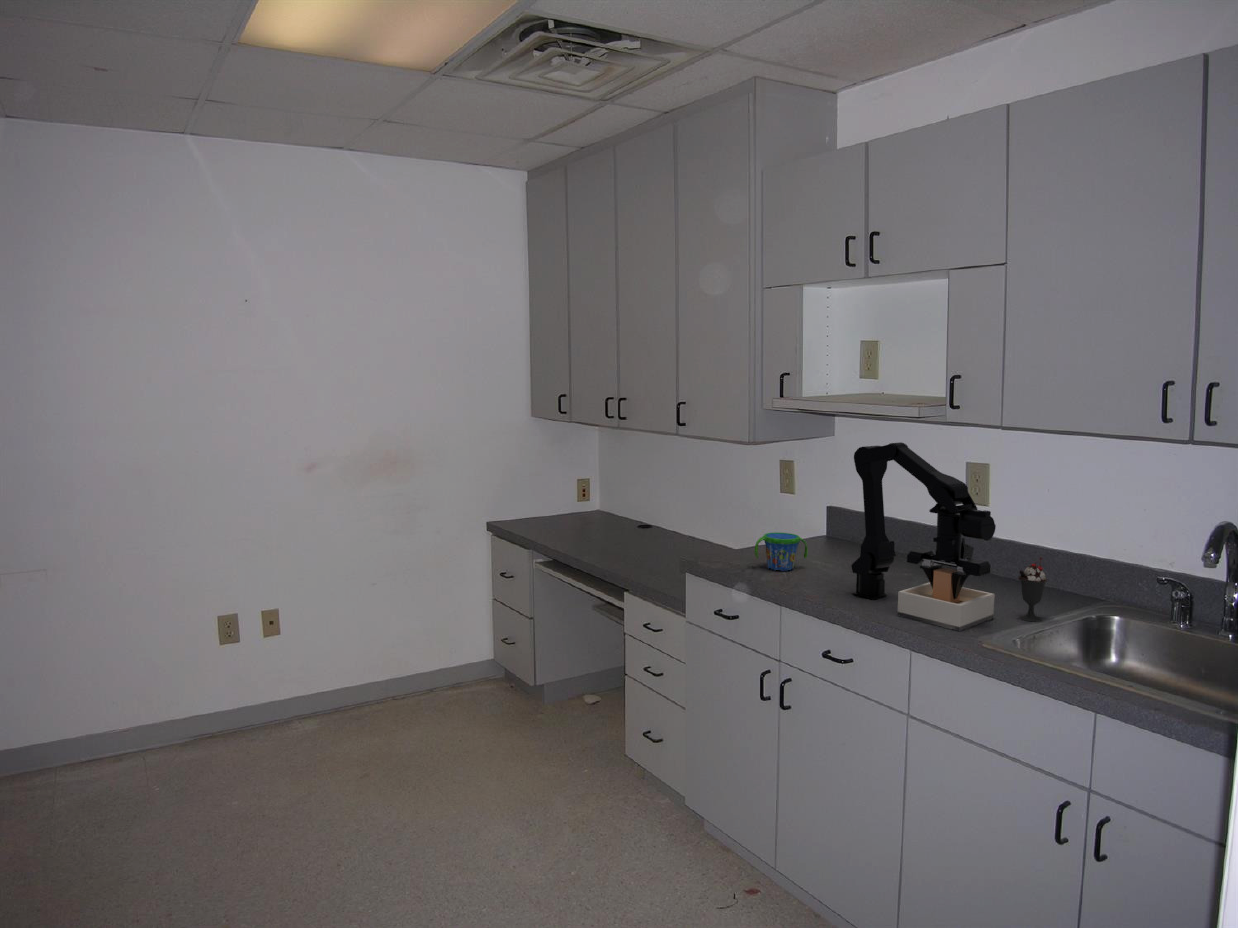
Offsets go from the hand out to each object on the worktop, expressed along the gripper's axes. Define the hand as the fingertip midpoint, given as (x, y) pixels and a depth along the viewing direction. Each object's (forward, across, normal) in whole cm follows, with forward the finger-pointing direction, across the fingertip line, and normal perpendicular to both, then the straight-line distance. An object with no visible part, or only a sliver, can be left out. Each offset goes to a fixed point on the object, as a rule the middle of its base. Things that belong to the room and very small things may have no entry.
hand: (946, 596), depth 210 cm
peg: (+2, 0, 0) cm, 3 cm away
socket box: (+5, 0, 0) cm, 5 cm away
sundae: (+5, -14, -14) cm, 21 cm away
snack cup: (+5, +57, -7) cm, 58 cm away
